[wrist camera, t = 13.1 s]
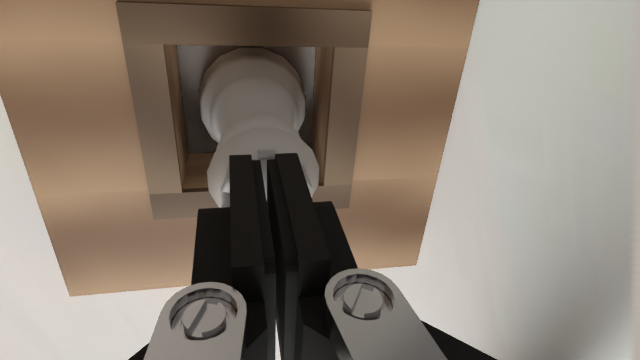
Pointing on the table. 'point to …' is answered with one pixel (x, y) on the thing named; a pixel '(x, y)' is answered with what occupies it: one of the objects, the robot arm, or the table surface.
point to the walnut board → (191, 169)
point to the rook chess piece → (253, 115)
